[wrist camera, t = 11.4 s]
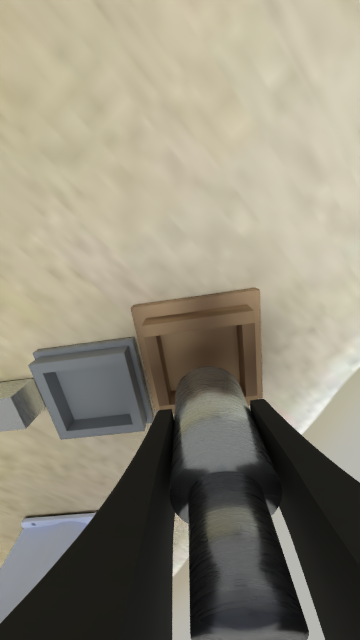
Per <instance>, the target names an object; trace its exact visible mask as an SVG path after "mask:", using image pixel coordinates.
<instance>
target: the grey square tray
mask: <svg viewBox="0 0 360 640" xmlns="http://www.w3.org/2000/svg"><path fill="white" fill-rule="evenodd" d="M33 355H34V358H35V361H33V362H32V363H30V364H29V365H28V366H29V368H30V370H31V373H32V375H33V377H34V380H35V382H36V384H37V386H38V389H39V391H40V393H41V395H42V398H43V400H44V402H45V405H46V407H47V409H48V411H49V414H50V416H51V418H52V421H53V423H54V425H55V427H56V430H57V432H58V434H59V437H60V439H61V440H62V439H71V438H81V437H91V436H101V435H110V434H120V433H130V432H139V431H145V427H146V423H152V422H153V414H152V410H151V405H150V401H149V397H148V393H147V389H146V384H145V380H144V376H143V372H142V368H141V364H140V359H139V355H138V351H137V347H136V343H135V338H134V337H129V338H122V339H114V340H107V341H99V342H92V343H84V344H77V345H69V346H62V347H54V348H47V349H39V350H37V351H35V352H34V353H33Z"/></svg>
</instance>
